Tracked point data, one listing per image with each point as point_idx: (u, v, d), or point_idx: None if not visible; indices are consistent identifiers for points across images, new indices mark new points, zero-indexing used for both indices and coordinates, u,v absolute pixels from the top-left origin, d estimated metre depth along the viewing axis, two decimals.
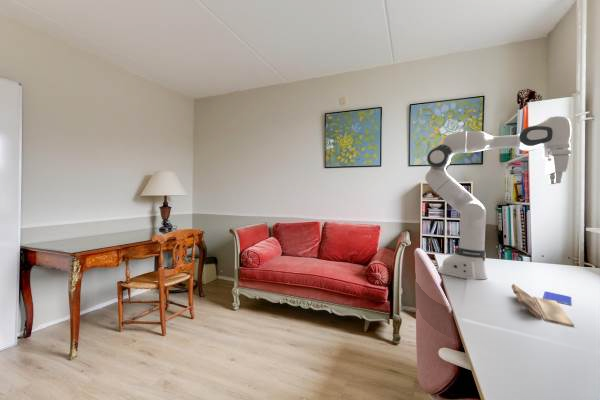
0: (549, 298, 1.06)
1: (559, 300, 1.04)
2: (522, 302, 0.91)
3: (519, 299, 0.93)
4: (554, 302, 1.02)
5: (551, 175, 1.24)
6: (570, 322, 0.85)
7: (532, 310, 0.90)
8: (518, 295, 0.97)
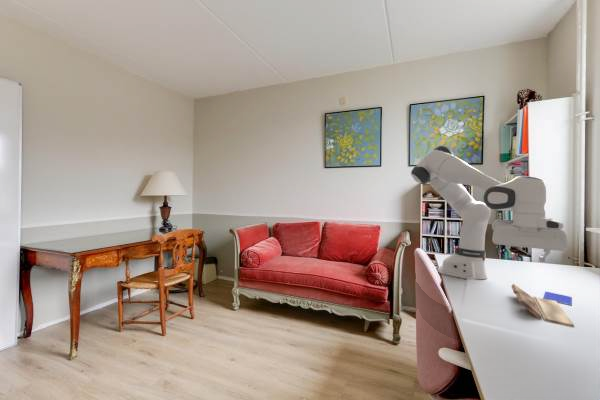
0: (549, 298, 1.06)
1: (559, 300, 1.04)
2: (522, 302, 0.91)
3: (519, 299, 0.93)
4: (554, 302, 1.02)
5: (510, 246, 0.96)
6: (570, 322, 0.85)
7: (532, 310, 0.90)
8: (518, 295, 0.97)
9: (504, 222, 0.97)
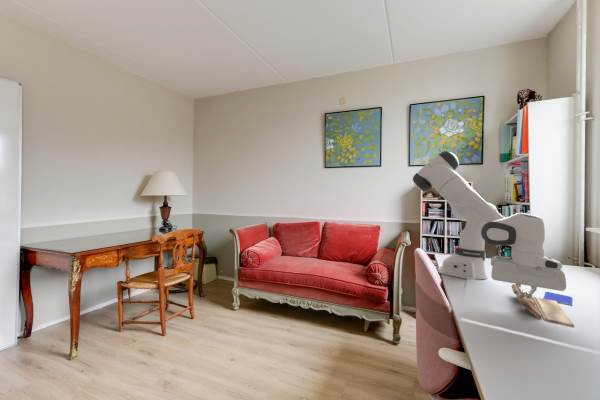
0: (550, 298, 1.06)
1: (560, 300, 1.04)
2: (522, 302, 0.91)
3: (519, 299, 0.93)
4: (554, 302, 1.02)
5: (520, 285, 0.95)
6: (570, 322, 0.85)
7: (532, 310, 0.90)
8: (518, 295, 0.97)
9: (503, 258, 0.98)
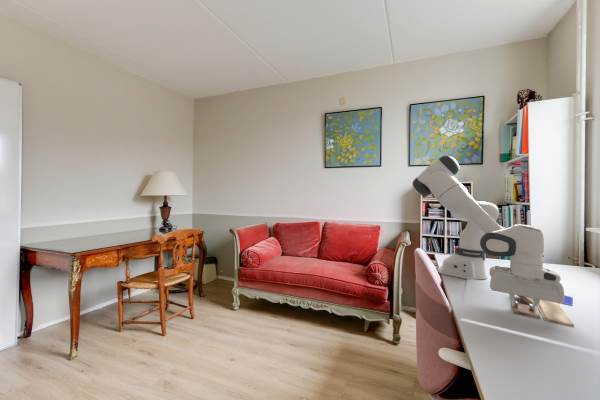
0: None
1: None
2: (516, 312, 0.92)
3: (513, 310, 0.94)
4: (554, 302, 1.02)
5: (514, 295, 0.96)
6: (570, 322, 0.85)
7: (528, 315, 0.90)
8: None
9: (502, 269, 0.98)
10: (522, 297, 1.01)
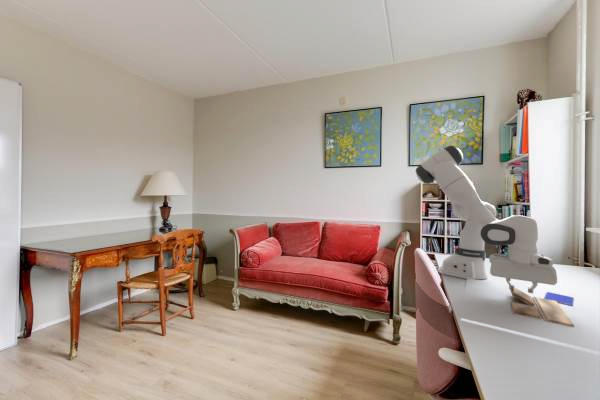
0: (550, 299, 1.06)
1: (560, 301, 1.04)
2: (516, 312, 0.92)
3: (513, 310, 0.94)
4: (554, 302, 1.02)
5: (510, 279, 1.06)
6: (570, 322, 0.85)
7: (528, 315, 0.90)
8: None
9: (500, 256, 1.08)
10: (521, 298, 1.01)
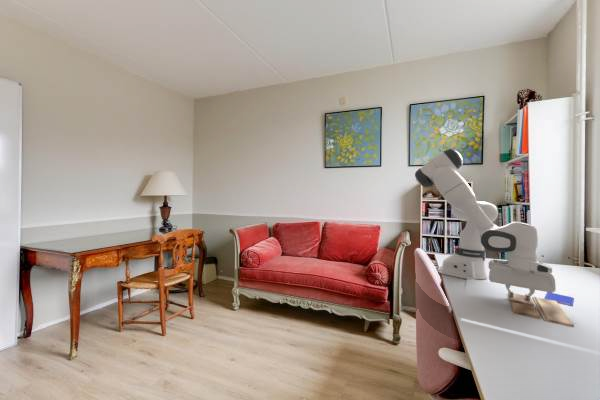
0: (550, 299, 1.06)
1: (561, 301, 1.04)
2: (516, 312, 0.92)
3: (513, 310, 0.94)
4: (554, 302, 1.02)
5: None
6: (570, 322, 0.85)
7: (528, 315, 0.90)
8: None
9: (500, 262, 1.08)
10: None
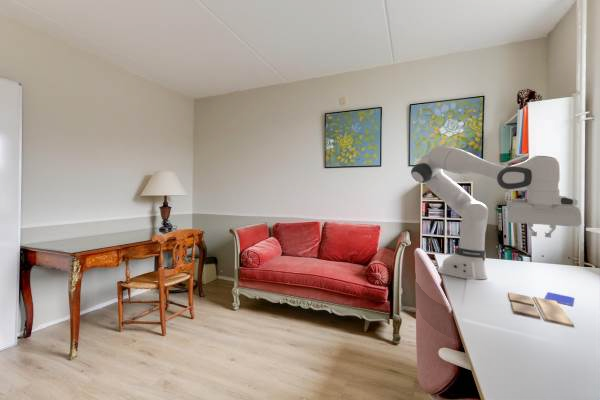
0: (551, 299, 1.06)
1: (561, 301, 1.04)
2: (516, 312, 0.92)
3: (513, 310, 0.94)
4: (554, 302, 1.02)
5: None
6: (570, 322, 0.85)
7: (528, 315, 0.90)
8: None
9: (519, 201, 1.01)
10: None
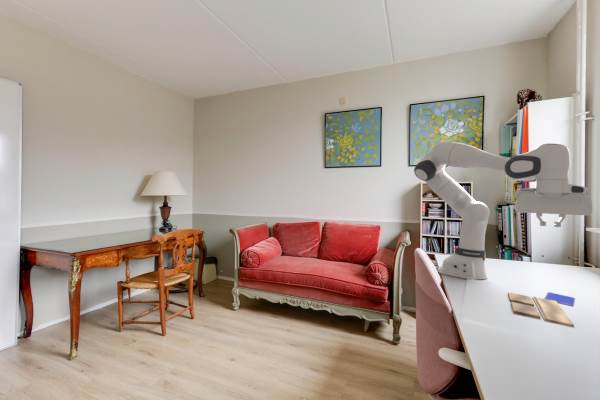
0: (551, 299, 1.05)
1: (561, 301, 1.04)
2: (516, 312, 0.92)
3: (513, 310, 0.94)
4: (554, 302, 1.02)
5: None
6: (570, 322, 0.85)
7: (528, 315, 0.90)
8: None
9: (527, 190, 0.99)
10: None
